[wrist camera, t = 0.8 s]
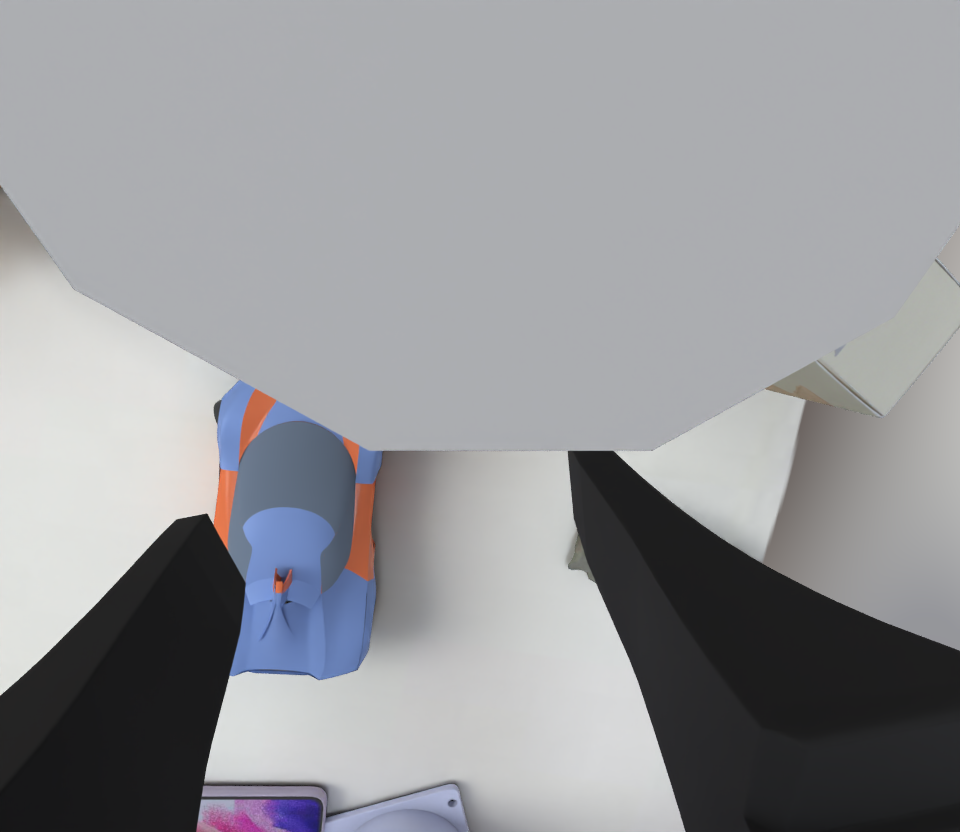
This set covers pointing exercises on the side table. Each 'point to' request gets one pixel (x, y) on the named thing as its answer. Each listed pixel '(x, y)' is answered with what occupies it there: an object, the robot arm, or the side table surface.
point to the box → (884, 352)
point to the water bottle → (490, 196)
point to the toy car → (296, 536)
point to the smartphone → (262, 809)
